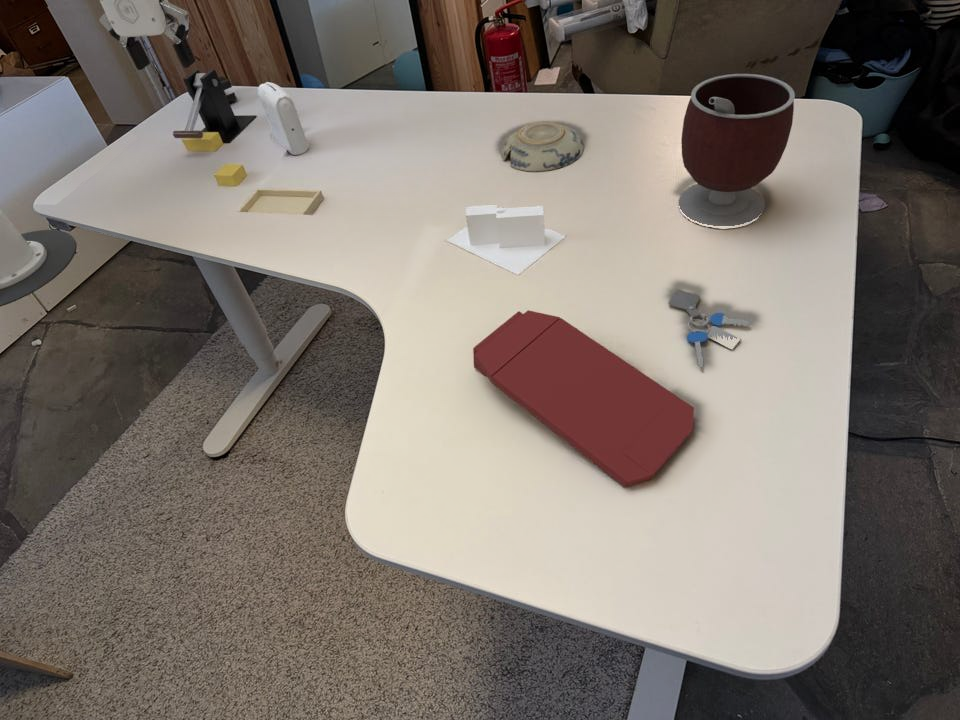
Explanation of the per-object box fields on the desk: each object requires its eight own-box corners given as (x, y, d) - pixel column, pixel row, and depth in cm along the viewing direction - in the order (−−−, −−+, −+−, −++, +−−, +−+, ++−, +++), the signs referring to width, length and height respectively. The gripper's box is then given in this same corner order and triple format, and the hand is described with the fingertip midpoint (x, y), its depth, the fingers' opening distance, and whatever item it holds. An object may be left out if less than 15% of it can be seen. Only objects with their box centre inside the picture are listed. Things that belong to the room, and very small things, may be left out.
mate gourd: (702, 172, 99) (722, 43, 84) (786, 197, 91) (824, 61, 77) (649, 218, 92) (662, 87, 78) (735, 249, 85) (767, 110, 70)
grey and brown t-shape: (203, 141, 121) (195, 134, 119) (178, 141, 123) (170, 134, 121) (220, 80, 125) (213, 72, 122) (196, 81, 126) (188, 73, 124)
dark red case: (692, 437, 69) (527, 322, 79) (705, 414, 65) (529, 296, 75) (629, 510, 63) (462, 376, 74) (638, 490, 60) (460, 352, 70)
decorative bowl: (600, 144, 109) (537, 123, 117) (601, 124, 107) (536, 104, 115) (547, 182, 103) (484, 157, 111) (546, 162, 100) (482, 138, 108)
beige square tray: (291, 241, 100) (288, 233, 99) (224, 238, 103) (220, 230, 102) (323, 198, 108) (321, 190, 107) (260, 196, 111) (257, 188, 110)
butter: (217, 155, 125) (210, 139, 123) (189, 155, 127) (181, 139, 124) (225, 147, 127) (218, 132, 125) (197, 147, 129) (189, 131, 126)
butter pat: (239, 190, 114) (231, 175, 111) (220, 190, 115) (213, 175, 112) (249, 179, 116) (242, 164, 114) (231, 179, 117) (224, 164, 115)
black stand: (231, 147, 127) (204, 86, 117) (191, 147, 129) (161, 87, 120) (258, 120, 134) (234, 61, 125) (220, 121, 137) (194, 62, 128)
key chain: (662, 294, 80) (663, 289, 79) (724, 284, 80) (725, 279, 79) (698, 371, 70) (699, 366, 70) (768, 360, 70) (770, 355, 70)
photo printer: (312, 149, 122) (291, 88, 113) (293, 158, 120) (270, 96, 111) (291, 134, 128) (270, 74, 119) (273, 141, 126) (249, 82, 117)
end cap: (195, 108, 144) (181, 79, 139) (221, 96, 147) (209, 67, 142) (213, 118, 138) (200, 88, 134) (240, 106, 141) (228, 76, 136)
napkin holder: (566, 235, 92) (566, 203, 87) (519, 275, 87) (515, 242, 82) (493, 206, 100) (489, 175, 95) (445, 241, 94) (439, 209, 90)
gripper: (53, -33, 96) (114, 76, 108) (144, -42, 92) (197, 73, 104) (84, -48, 101) (139, 59, 113) (171, -57, 96) (218, 55, 109)
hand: (166, 65), depth 108 cm, fingers open, 9 cm apart
